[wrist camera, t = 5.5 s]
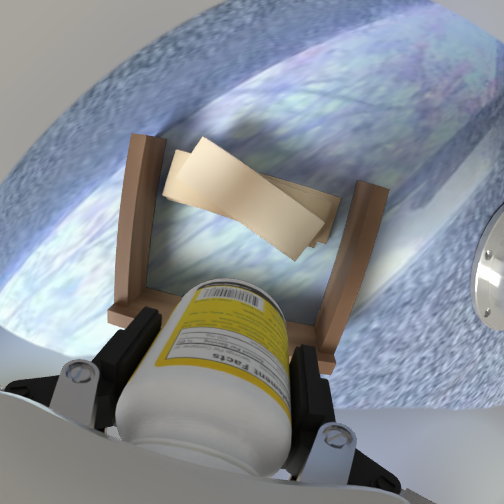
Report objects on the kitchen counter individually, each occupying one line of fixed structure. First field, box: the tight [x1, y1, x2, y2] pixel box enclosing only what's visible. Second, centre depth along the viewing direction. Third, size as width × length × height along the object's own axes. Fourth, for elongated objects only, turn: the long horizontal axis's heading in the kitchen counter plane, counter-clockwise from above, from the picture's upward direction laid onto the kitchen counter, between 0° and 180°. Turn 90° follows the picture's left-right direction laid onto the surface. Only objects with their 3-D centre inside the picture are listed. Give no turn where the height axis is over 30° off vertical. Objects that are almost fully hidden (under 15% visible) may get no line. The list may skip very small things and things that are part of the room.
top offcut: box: [176, 137, 325, 261], centre depth 17 cm, size 8×3×1 cm, turn 55°
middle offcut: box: [163, 149, 332, 248], centre depth 19 cm, size 10×3×1 cm, turn 71°
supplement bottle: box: [115, 278, 292, 478], centre depth 10 cm, size 5×5×10 cm
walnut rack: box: [108, 134, 390, 375], centre depth 19 cm, size 15×12×4 cm
